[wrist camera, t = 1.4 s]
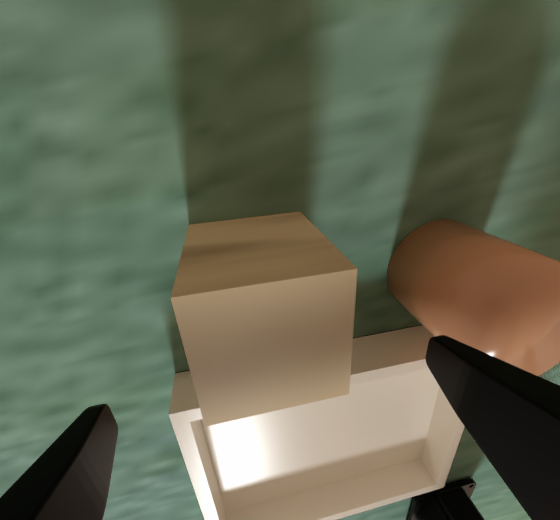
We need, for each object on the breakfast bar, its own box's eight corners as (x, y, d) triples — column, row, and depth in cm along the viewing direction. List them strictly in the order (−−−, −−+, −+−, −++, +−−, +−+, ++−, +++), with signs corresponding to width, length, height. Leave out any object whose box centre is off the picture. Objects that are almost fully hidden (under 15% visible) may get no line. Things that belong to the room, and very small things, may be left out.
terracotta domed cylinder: (462, 298, 18) (568, 371, 12) (382, 312, 17) (459, 398, 12) (484, 213, 15) (626, 260, 10) (392, 225, 15) (494, 283, 9)
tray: (423, 455, 25) (443, 487, 23) (216, 511, 22) (216, 555, 20) (459, 317, 18) (492, 344, 16) (175, 373, 16) (168, 414, 13)
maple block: (302, 301, 15) (349, 393, 10) (208, 317, 15) (204, 427, 9) (300, 211, 13) (357, 268, 8) (189, 224, 12) (170, 298, 7)
